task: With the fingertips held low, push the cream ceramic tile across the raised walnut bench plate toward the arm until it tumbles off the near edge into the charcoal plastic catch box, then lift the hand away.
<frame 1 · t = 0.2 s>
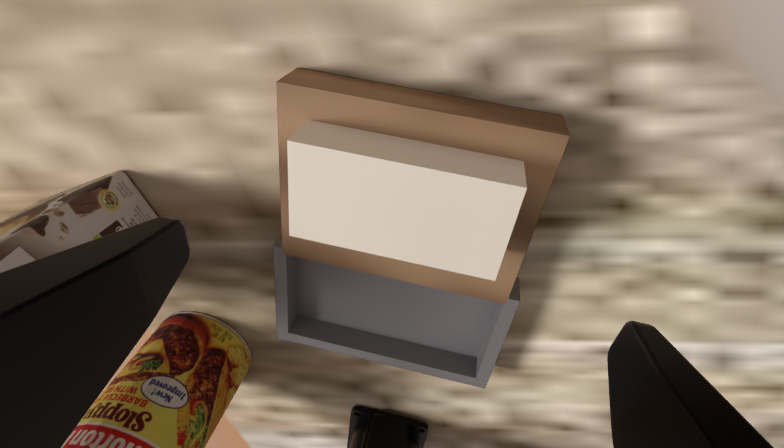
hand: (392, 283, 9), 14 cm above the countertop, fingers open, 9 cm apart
coffee box: (109, 220, 30), on the countertop
cream tile: (405, 187, 21), point 2 cm above the countertop, touching bench plate
canned food: (208, 343, 36), on the countertop
bench plate: (411, 181, 24), on the countertop
catch box: (392, 295, 29), on the countertop
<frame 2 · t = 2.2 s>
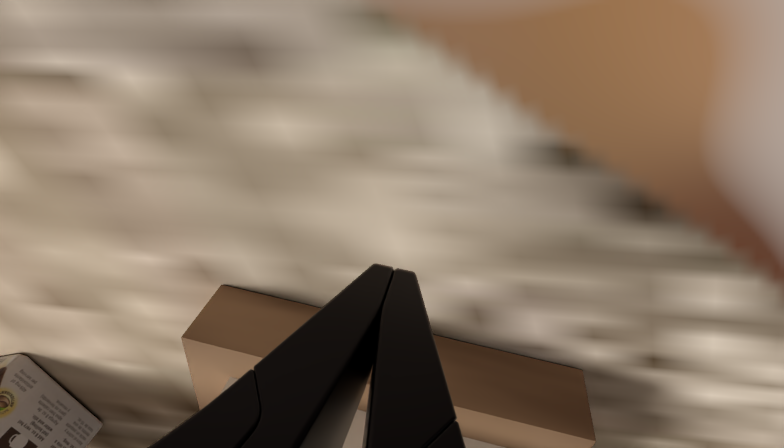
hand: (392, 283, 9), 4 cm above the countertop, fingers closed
coffee box: (20, 390, 25), on the countertop
bench plate: (380, 405, 18), on the countertop
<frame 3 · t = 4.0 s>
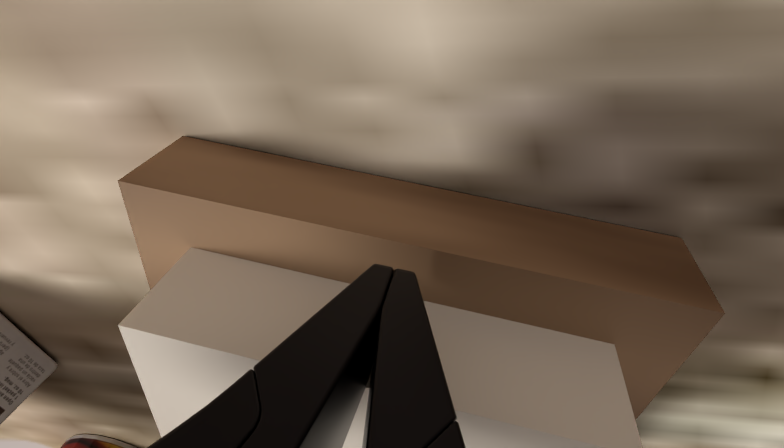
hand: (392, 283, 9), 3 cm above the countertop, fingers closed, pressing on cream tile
cream tile: (381, 360, 11), point 3 cm above the countertop, touching gripper
bench plate: (395, 315, 14), on the countertop
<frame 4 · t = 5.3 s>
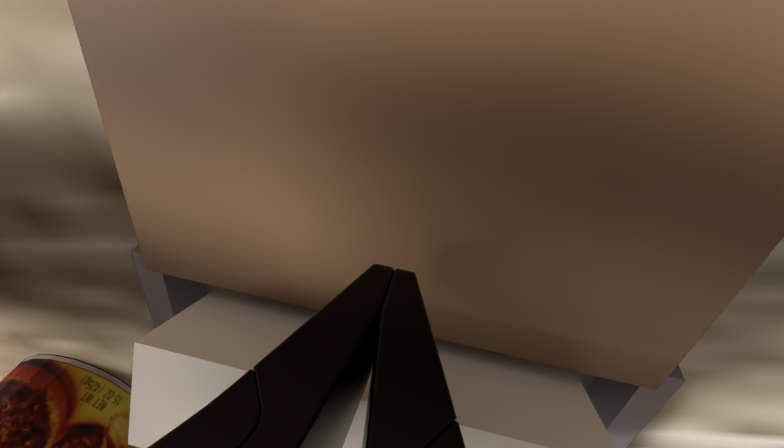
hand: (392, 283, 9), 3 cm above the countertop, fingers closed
cream tile: (385, 342, 11), point 3 cm above the countertop, tilted 66°, touching catch box
canned food: (96, 401, 23), on the countertop
bench plate: (434, 98, 10), on the countertop
catch box: (390, 343, 15), on the countertop
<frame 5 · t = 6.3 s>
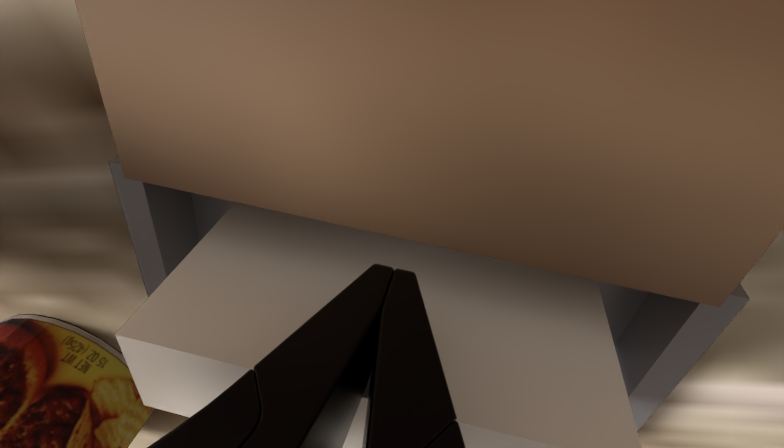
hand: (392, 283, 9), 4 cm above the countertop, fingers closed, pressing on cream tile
cream tile: (392, 300, 10), point 3 cm above the countertop, tilted 91°, touching catch box, gripper
canned food: (81, 369, 21), on the countertop
catch box: (401, 285, 13), on the countertop
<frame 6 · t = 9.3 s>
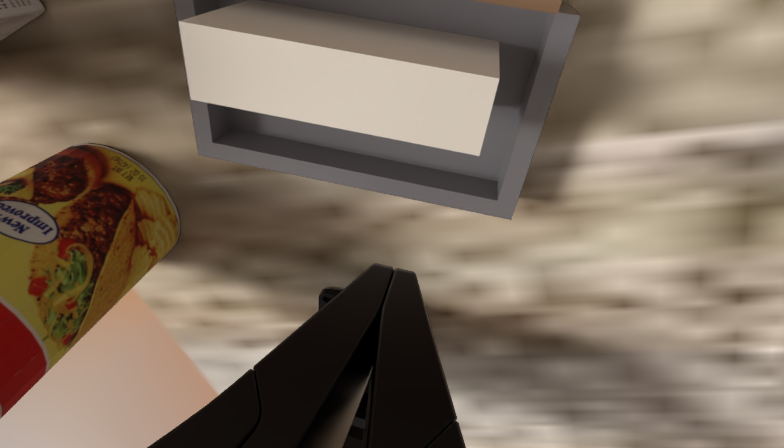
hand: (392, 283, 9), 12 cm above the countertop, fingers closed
cream tile: (355, 32, 15), point 3 cm above the countertop, tilted 90°, touching catch box
canned food: (121, 202, 26), on the countertop
catch box: (368, 73, 19), on the countertop
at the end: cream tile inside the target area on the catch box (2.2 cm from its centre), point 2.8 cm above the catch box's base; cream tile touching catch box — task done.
